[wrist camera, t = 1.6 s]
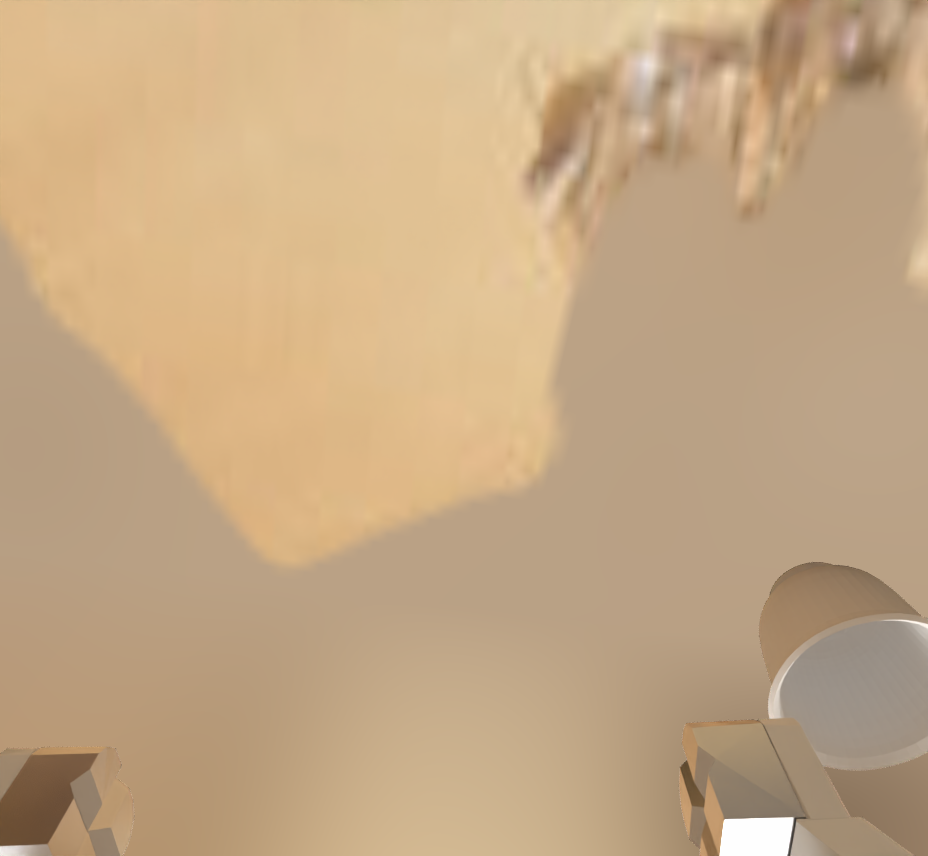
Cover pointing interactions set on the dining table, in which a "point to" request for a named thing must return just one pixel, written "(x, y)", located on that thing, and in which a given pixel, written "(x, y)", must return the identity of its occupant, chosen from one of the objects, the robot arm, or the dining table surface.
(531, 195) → the dining table surface
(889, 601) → the teacup
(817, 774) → the robot arm
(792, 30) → the dining table surface
